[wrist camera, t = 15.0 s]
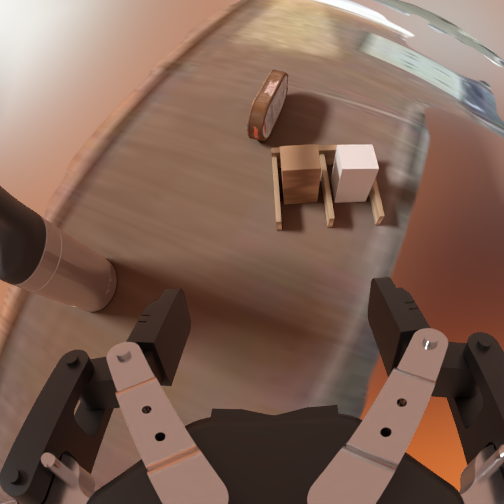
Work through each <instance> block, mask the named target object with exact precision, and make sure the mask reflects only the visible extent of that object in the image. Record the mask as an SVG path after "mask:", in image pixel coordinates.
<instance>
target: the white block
mask: <svg viewBox="0 0 504 504" xmlns="http://www.w3.org/2000/svg"><path fill="white" fill-rule="evenodd" d="M378 170H379V167H378V163H377V159H376V156H375V152H374V149H373V145H337V148H336V154H335V159H334V165H333V170H332V176H331V186H332V192H333V198H334V203H341V202H366V199H367V197H368V194H369V192H370V190H371V187H372V185H373V182H374V180H375V178H376V175H377V173H378Z"/></svg>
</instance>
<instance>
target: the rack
mask: <svg viewBox="0 0 504 504" xmlns="http://www.w3.org/2000/svg"><path fill="white" fill-rule="evenodd" d="M317 146H318V151H319V157H320V162H321V168H322V169H321V177H320V178H321V185H322V191H323V198H324V206H325V213H326V221H327V228H328V227H332V226H333V222H334V219H335V217H334V210H333V204H332V197H331V191H330V185H329V179H328V173H327V167H326V165H334V159H335V154H336V148H337V145H317ZM271 153H272V165H273V179H274V195H275V210H276V225H277V230H282V223H281V209H280V195H279V181H278V168H280V167H281V158H280V147H278V148H271ZM369 197H370V202H371V207H372V212H373V217H374V222H375V225H380V223H381V221H382V220H383V218H384V211H383V207H382V202H381V198H380V193H379V189H378V185H377V181H376V178H375V180H374V182H373V185H372V187H371V190H370V192H369Z"/></svg>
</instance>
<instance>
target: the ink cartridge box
mask: <svg viewBox="0 0 504 504" xmlns="http://www.w3.org/2000/svg"><path fill="white" fill-rule="evenodd" d="M1 504H18V503H17V502H16V500H12V501H8V502H5V503H1Z"/></svg>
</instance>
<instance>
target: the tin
mask: <svg viewBox="0 0 504 504" xmlns="http://www.w3.org/2000/svg"><path fill="white" fill-rule="evenodd" d="M287 82H288V74H287V73H285V72H281V71H276V70H272V71H271V72H270V73H269V75H268V77H267V78H266V80H265V82H264V83H263V85H262V87H261V89H260V90H259V92H258V94H257V96H256V97H255V99H254V101H253V104H252V106H251V110H250V114H249V118H248V128H247V132H248V136H249V138H250V139H257V140H261V141H265V140H267V139H268V137H269V136H270V134H271V132H272V130H273V127H274V125H275V123H276V121H277V119H278V117H279V115H280V112H281V110H282V108H283V105H284V103H285V99H286V95H287V90H288V88H287Z"/></svg>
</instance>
